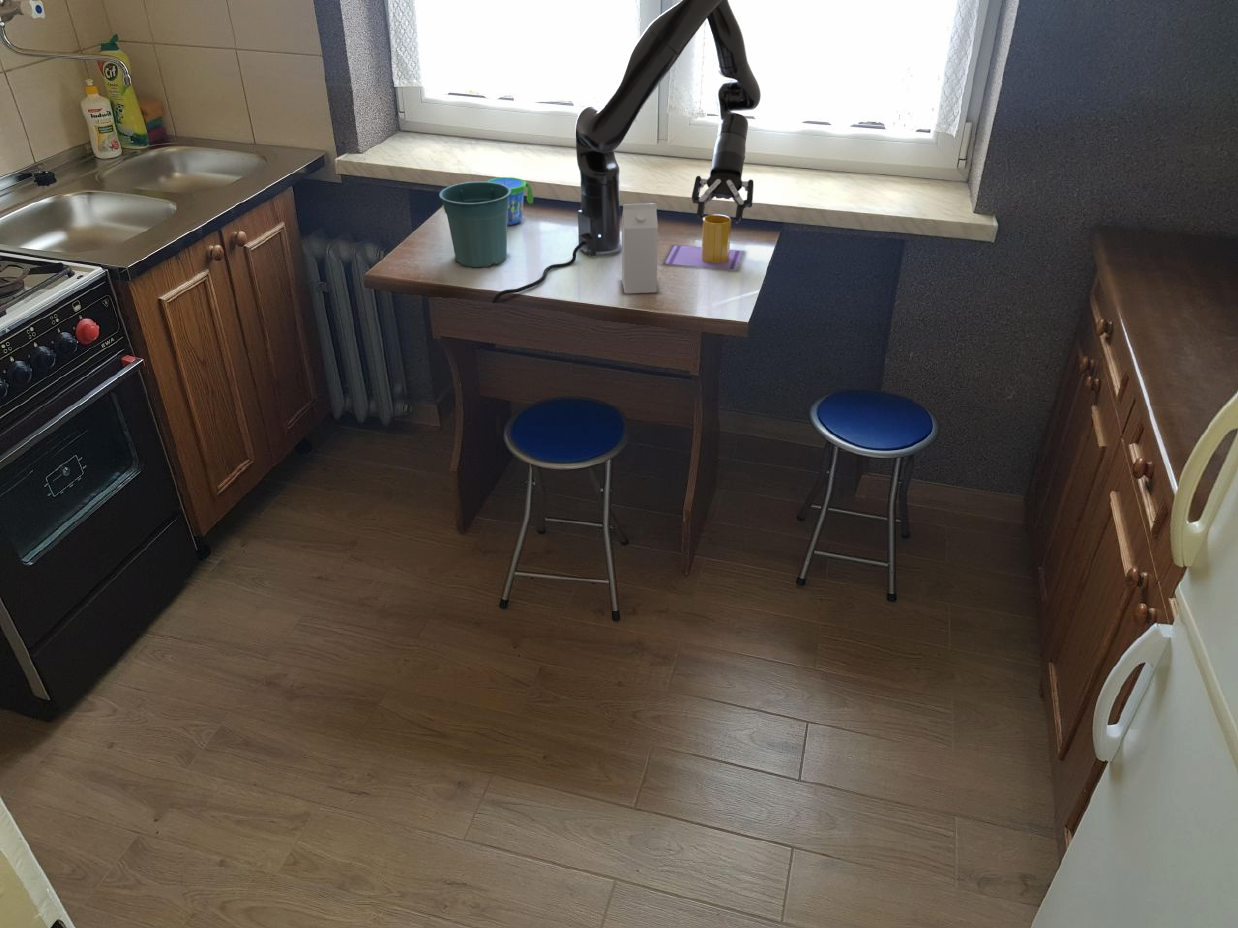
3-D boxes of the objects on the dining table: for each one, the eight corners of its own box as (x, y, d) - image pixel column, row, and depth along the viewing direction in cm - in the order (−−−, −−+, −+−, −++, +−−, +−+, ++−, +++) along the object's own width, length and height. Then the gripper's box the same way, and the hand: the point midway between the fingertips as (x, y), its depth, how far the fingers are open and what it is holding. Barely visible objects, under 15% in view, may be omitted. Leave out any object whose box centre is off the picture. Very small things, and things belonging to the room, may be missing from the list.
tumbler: (712, 265, 223) (714, 226, 218) (696, 256, 228) (697, 217, 223) (734, 259, 226) (736, 220, 221) (717, 251, 231) (719, 212, 225)
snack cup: (524, 210, 256) (521, 172, 251) (543, 221, 249) (541, 182, 243) (471, 221, 249) (468, 183, 244) (490, 233, 242) (486, 194, 236)
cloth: (664, 264, 225) (664, 263, 224) (674, 246, 234) (674, 245, 234) (736, 271, 221) (736, 269, 221) (743, 252, 231) (743, 251, 231)
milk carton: (621, 281, 216) (621, 199, 206) (652, 280, 217) (654, 198, 206) (624, 294, 211) (624, 210, 200) (656, 293, 211) (658, 209, 200)
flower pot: (432, 259, 228) (424, 192, 219) (484, 240, 238) (479, 176, 229) (476, 277, 219) (470, 208, 210) (529, 257, 229) (525, 191, 220)
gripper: (697, 147, 226) (687, 211, 223) (757, 151, 223) (748, 215, 220) (700, 163, 233) (690, 225, 230) (758, 167, 230) (749, 230, 227)
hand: (718, 220), depth 225 cm, fingers open, 8 cm apart
